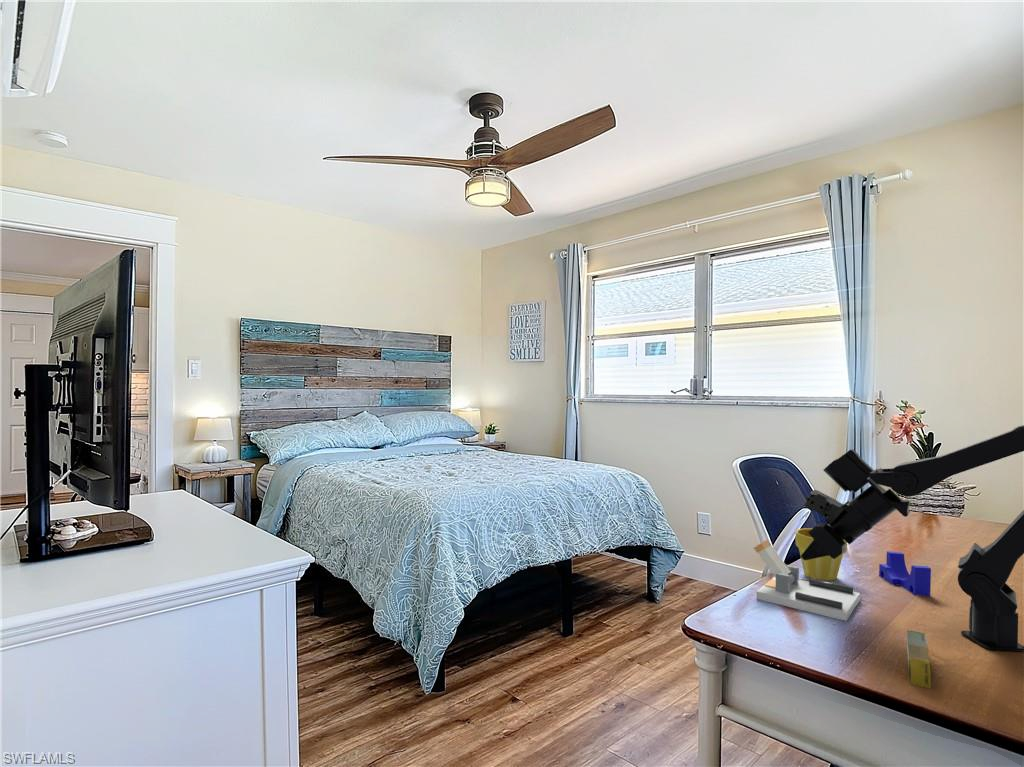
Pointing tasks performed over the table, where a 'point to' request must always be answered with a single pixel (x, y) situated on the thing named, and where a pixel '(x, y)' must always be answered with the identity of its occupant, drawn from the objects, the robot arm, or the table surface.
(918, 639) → the medication box
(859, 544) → the table surface
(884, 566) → the cable clip
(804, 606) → the white base plate
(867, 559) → the table surface
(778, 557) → the lever
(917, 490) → the robot arm
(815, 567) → the plant pot
